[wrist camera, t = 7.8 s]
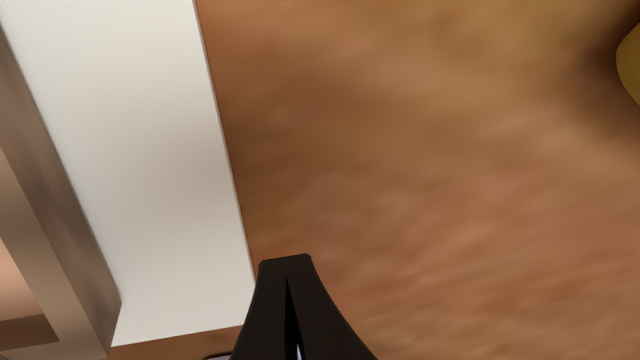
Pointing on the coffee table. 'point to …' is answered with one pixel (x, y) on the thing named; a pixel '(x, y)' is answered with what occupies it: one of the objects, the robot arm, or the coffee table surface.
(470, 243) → the coffee table surface
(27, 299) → the wooden tray
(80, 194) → the wall board
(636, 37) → the flower pot
